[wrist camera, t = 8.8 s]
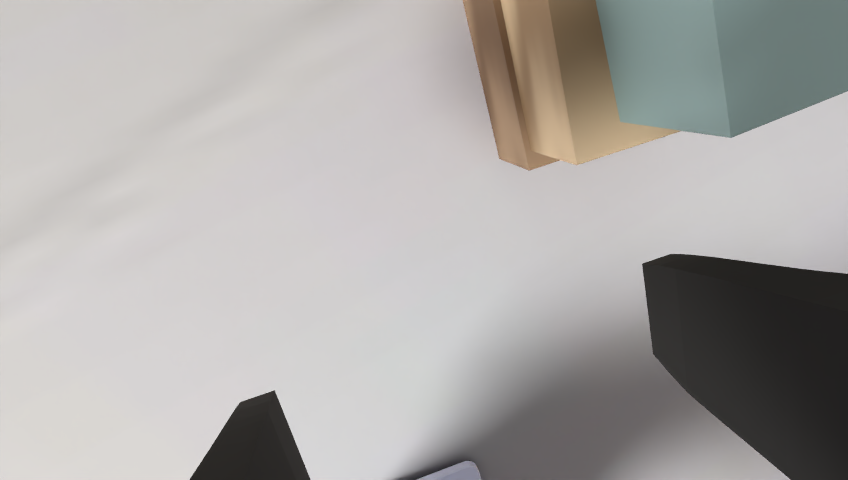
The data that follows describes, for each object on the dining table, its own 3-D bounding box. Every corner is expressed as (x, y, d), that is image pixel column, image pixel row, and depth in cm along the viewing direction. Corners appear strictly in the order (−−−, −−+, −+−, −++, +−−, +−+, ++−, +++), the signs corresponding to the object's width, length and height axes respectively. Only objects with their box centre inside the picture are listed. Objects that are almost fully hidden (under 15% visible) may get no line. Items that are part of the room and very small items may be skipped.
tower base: (664, 102, 22) (721, 106, 19) (496, 157, 21) (529, 170, 18) (639, -100, 20) (698, -129, 17) (448, -48, 19) (477, -70, 16)
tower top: (697, 97, 19) (770, 101, 16) (530, 151, 18) (576, 165, 15) (677, -105, 17) (756, -141, 14) (489, -56, 16) (533, -84, 13)
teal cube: (750, 71, 16) (897, 70, 12) (620, 121, 15) (730, 137, 11) (730, -88, 14) (890, -146, 10) (587, -38, 14) (701, -81, 10)
